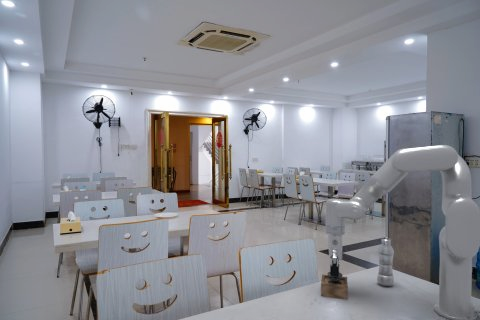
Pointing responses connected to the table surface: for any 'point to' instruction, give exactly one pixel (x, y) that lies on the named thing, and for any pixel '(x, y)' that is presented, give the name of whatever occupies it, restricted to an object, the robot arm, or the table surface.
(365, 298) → the table surface
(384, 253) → the plastic bottle
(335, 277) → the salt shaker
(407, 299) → the table surface
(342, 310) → the table surface
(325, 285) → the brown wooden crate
